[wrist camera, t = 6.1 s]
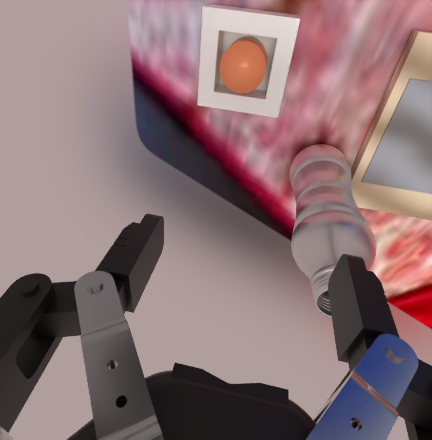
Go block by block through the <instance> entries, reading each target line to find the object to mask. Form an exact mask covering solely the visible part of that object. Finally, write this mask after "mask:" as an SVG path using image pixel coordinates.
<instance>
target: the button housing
mask: <svg viewBox="0 0 432 440" xmlns="http://www.w3.org/2000/svg"><path fill="white" fill-rule="evenodd" d="M299 23H300V17H299V15H295V14H287V13H279V12H271V11H264V10H256V9H248V8H240V7H232V6H224V5H217V4H209V5H206V6H203V9H202V28H201V47H200V67H199V86H198V105H199V106H206V107H212V108H218V109H225V110H231V111H237V112H244V113H250V114H257V115H263V116H269V117H276V118H278V115H279V110H280V106H281V102H282V97H283V93H284V88H285V84H286V80H287V75H288V71H289V67H290V62H291V58H292V53H293V49H294V45H295V40H296V36H297V32H298V27H299ZM244 36H251V37H254V38H257V39H258V40H259V41H261V42H262V44H263V45H264V47H265V49H266V52H267V66H266V70H265V74H264V78H263V80H262V82H261V83H260V85H259V86H258V87H257V88H256V89H254V90H253V91H251V92H248V93H236V92H233V91H232V90H230V89H229V88H227V87H226V85H225V84H224V83H223V81H222V79H221V76H220V61H221V58H222V56H223V54H224V53H225V51H226V50H227V49H228V48H229V47H230V46H231V44H232V43H233V42H234V41H236V40H237V39H239V38H241V37H244Z"/></svg>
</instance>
